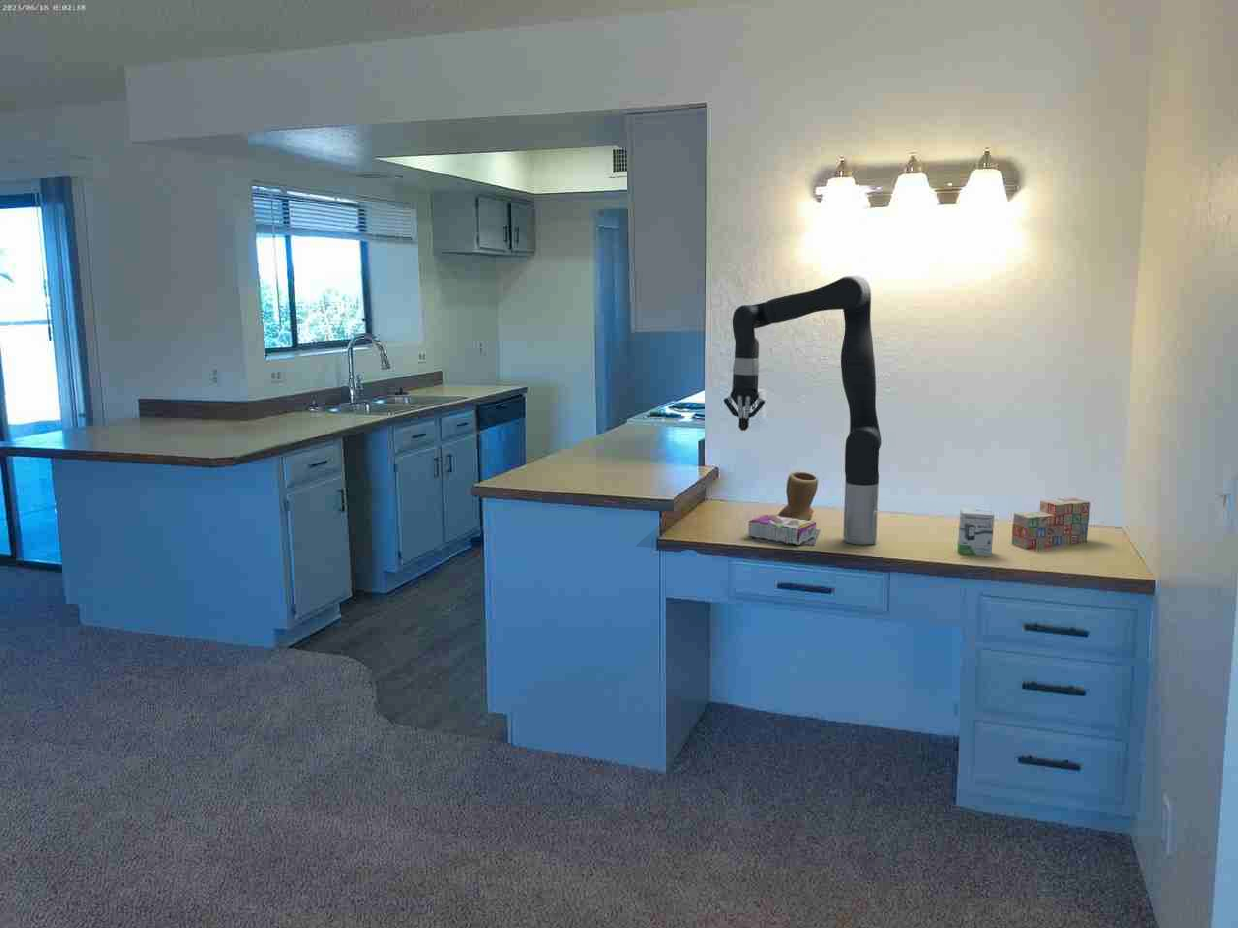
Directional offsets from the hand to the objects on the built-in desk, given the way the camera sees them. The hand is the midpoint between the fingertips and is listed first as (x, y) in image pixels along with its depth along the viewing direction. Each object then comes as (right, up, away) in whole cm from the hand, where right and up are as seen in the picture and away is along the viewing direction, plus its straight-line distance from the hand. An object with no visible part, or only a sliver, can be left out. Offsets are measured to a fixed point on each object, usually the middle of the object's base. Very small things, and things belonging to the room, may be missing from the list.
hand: (743, 430), depth 293 cm
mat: (+12, -31, -7) cm, 34 cm away
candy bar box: (+3, -28, -5) cm, 29 cm away
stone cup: (+19, -28, +14) cm, 36 cm away
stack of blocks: (+85, -33, -16) cm, 93 cm away
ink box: (+60, -35, -26) cm, 74 cm away
